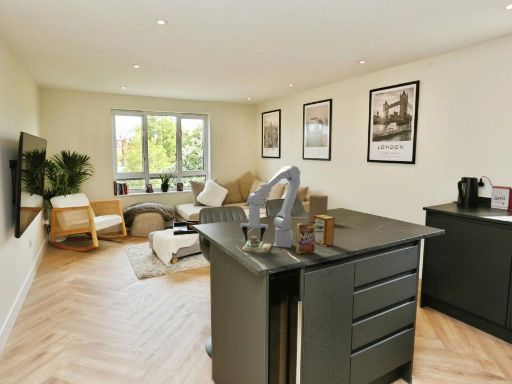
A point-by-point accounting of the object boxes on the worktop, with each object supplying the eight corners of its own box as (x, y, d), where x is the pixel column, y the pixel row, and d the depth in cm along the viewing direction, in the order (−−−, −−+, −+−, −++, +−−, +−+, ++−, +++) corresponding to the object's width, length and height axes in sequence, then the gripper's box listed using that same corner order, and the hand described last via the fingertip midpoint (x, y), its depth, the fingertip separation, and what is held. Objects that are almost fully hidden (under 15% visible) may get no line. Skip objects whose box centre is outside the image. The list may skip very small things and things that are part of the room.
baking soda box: (333, 245, 183) (334, 217, 182) (324, 246, 180) (326, 218, 178) (321, 241, 191) (322, 214, 190) (313, 242, 188) (314, 215, 186)
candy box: (297, 254, 165) (298, 224, 163) (295, 251, 169) (296, 222, 167) (314, 254, 165) (315, 224, 164) (312, 251, 170) (313, 222, 168)
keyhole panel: (262, 243, 180) (262, 234, 179) (260, 250, 167) (260, 240, 166) (247, 242, 181) (247, 233, 180) (244, 249, 168) (244, 239, 167)
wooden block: (308, 222, 245) (309, 195, 242) (315, 220, 252) (316, 194, 250) (320, 224, 238) (321, 197, 236) (326, 222, 246) (328, 195, 243)
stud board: (272, 246, 178) (272, 240, 178) (266, 253, 165) (266, 246, 165) (248, 243, 181) (248, 238, 181) (241, 250, 168) (241, 244, 168)
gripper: (268, 215, 175) (267, 239, 176) (241, 214, 176) (241, 238, 178) (267, 217, 168) (266, 243, 169) (239, 216, 169) (239, 242, 171)
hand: (253, 241), depth 173 cm, fingers open, 7 cm apart
